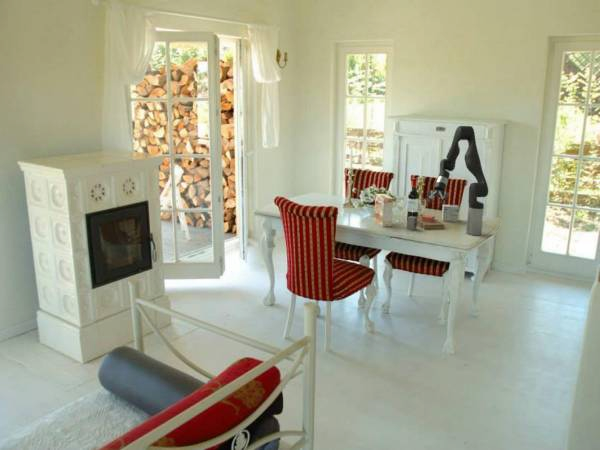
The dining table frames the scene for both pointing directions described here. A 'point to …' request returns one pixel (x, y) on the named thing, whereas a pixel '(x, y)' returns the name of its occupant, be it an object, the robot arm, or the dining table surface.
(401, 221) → the dining table surface
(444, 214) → the light bulb box
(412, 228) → the grey tin
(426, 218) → the red lid
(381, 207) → the coffeecake box
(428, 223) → the walnut board
